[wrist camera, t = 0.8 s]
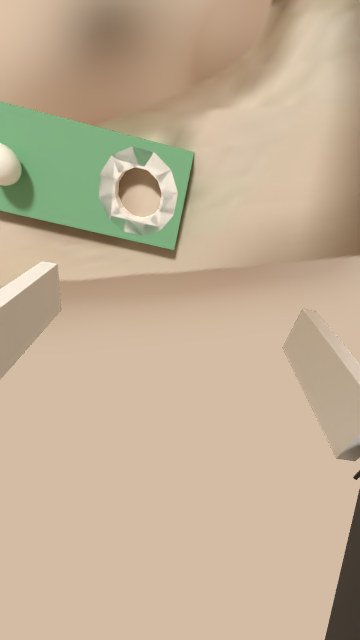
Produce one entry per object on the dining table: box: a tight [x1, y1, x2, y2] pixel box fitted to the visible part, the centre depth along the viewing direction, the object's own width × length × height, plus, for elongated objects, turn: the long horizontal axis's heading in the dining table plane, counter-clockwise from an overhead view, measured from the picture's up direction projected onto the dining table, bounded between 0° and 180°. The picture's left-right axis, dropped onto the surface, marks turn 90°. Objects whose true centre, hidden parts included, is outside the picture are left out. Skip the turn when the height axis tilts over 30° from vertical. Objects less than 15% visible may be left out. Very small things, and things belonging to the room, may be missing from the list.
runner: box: [0, 102, 194, 250], centre depth 33 cm, size 12×28×2 cm, turn 78°
